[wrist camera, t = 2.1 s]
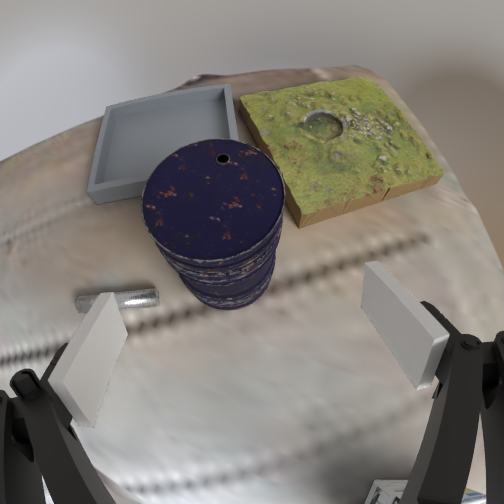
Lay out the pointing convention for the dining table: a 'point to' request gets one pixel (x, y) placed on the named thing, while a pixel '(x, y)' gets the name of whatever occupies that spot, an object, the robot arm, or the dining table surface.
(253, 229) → the storage jar
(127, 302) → the rod
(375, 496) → the light bulb box
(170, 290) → the dining table surface
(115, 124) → the tray
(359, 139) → the miniature landscape model
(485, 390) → the robot arm
